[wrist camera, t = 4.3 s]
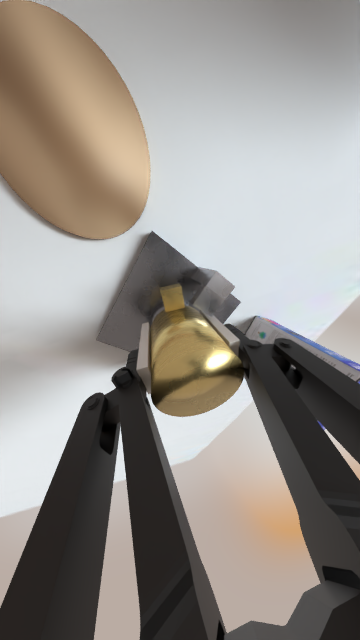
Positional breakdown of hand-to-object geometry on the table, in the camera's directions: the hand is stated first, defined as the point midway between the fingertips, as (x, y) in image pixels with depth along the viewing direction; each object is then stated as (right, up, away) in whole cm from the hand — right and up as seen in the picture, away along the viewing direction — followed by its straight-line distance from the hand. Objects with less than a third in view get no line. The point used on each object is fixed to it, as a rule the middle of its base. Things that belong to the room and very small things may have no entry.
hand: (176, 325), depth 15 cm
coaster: (-8, +14, -5) cm, 16 cm away
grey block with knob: (-1, +1, +3) cm, 3 cm away
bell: (0, 0, -1) cm, 1 cm away
